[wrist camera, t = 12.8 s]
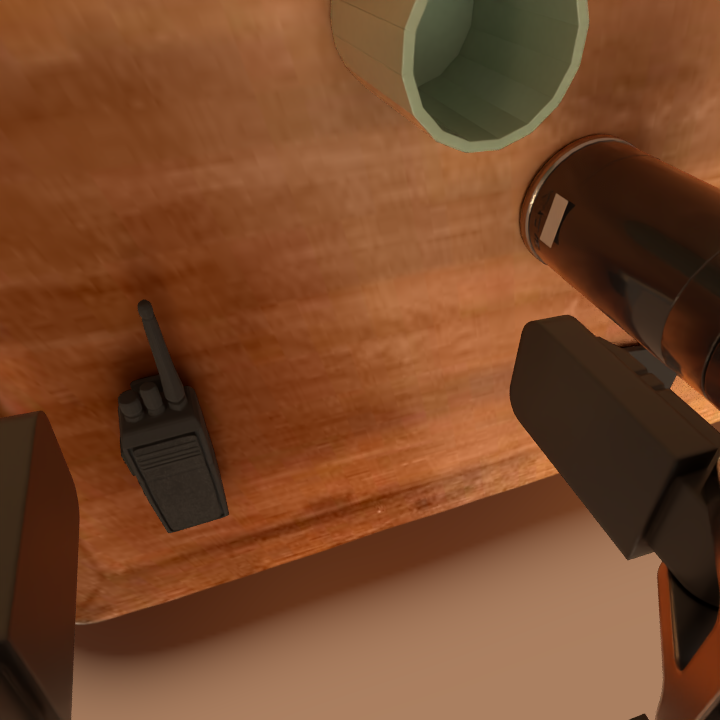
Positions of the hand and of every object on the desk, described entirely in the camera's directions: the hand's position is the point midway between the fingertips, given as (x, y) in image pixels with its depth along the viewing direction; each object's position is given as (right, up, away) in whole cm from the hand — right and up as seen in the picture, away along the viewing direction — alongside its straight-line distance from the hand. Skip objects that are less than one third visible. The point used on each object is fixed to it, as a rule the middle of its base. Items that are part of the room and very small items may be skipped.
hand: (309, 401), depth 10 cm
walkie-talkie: (-13, -2, +31) cm, 34 cm away
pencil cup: (+3, +19, +21) cm, 29 cm away
